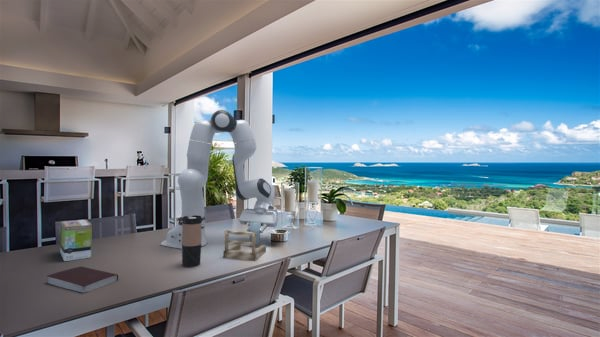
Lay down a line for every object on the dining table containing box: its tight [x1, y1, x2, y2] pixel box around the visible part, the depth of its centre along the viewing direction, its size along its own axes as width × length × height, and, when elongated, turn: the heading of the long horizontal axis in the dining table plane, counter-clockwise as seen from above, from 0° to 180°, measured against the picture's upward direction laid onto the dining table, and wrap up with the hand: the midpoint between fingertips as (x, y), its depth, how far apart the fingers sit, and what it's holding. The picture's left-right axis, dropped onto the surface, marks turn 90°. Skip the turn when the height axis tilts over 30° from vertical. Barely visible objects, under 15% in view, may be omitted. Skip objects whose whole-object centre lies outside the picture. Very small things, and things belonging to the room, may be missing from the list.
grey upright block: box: [248, 222, 262, 245], centre depth 166 cm, size 6×6×10 cm
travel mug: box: [181, 215, 202, 268], centre depth 136 cm, size 8×8×20 cm
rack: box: [222, 229, 267, 261], centre depth 152 cm, size 15×15×12 cm
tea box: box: [59, 219, 93, 262], centre depth 144 cm, size 15×10×15 cm, turn 41°
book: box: [46, 266, 119, 294], centre depth 115 cm, size 12×19×3 cm, turn 68°
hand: (254, 231), depth 165 cm, fingers closed on grey upright block, 5 cm apart
